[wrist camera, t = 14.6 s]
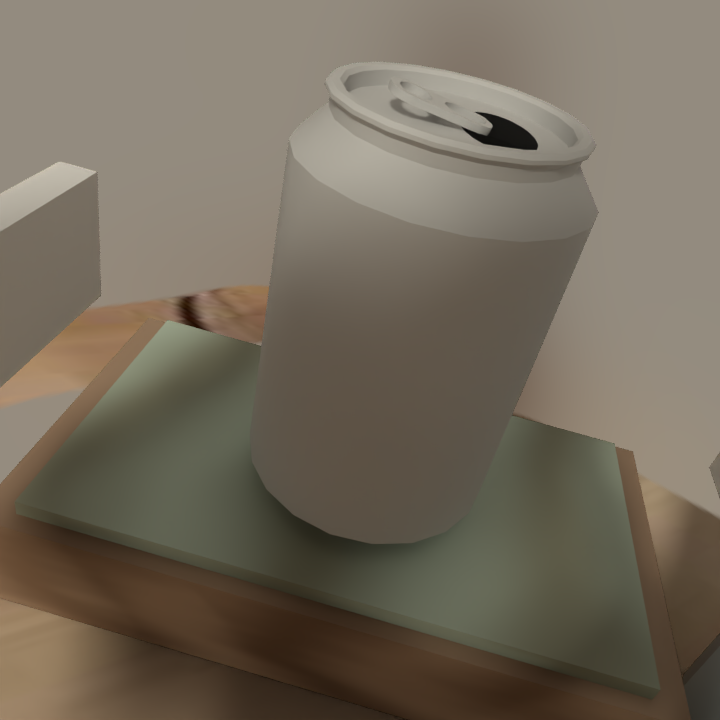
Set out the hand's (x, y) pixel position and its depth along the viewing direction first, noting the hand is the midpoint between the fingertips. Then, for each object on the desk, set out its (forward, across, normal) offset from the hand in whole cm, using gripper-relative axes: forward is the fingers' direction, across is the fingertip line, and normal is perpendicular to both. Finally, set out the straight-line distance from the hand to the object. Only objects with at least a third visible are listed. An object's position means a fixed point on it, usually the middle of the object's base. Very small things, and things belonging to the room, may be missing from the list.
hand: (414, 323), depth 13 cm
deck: (+5, 0, +13) cm, 14 cm away
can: (+5, 0, +9) cm, 10 cm away
